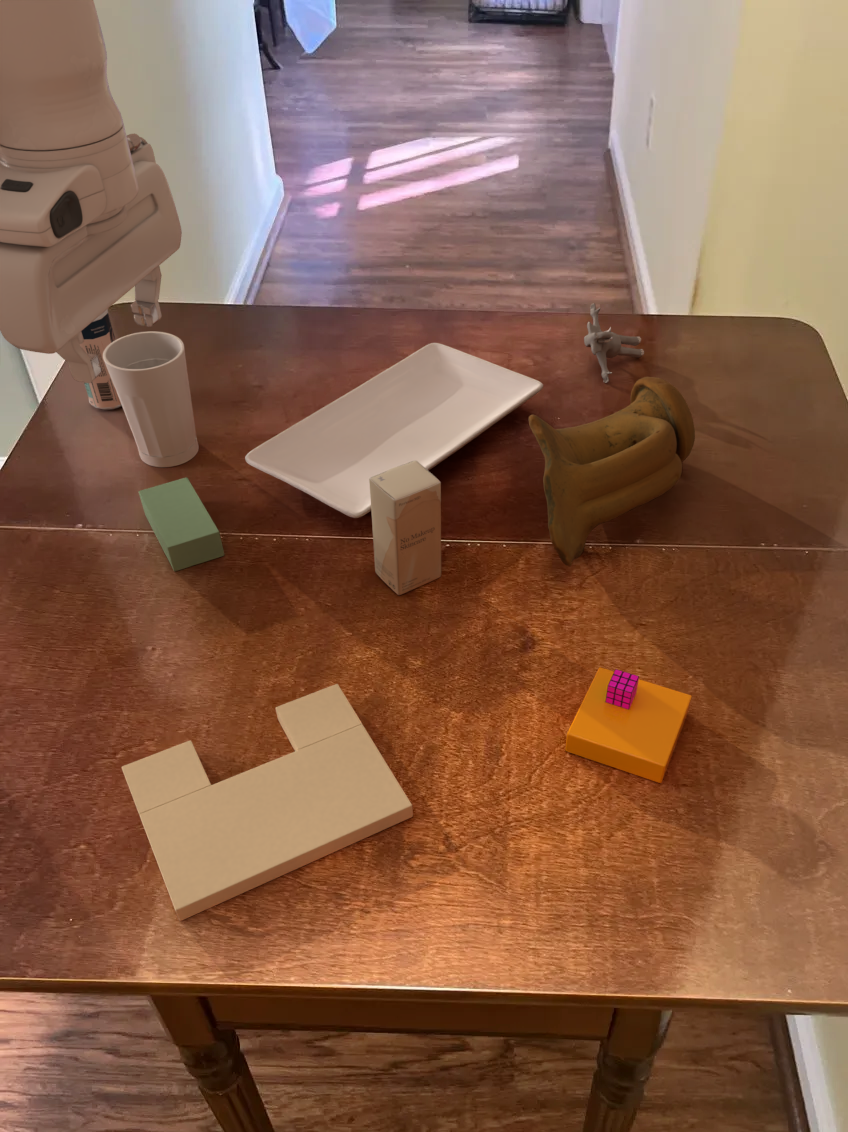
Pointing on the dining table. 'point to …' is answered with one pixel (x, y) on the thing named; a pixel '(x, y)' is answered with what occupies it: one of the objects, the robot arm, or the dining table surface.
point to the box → (406, 526)
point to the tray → (393, 425)
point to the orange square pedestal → (628, 724)
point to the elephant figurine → (608, 343)
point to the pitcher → (612, 462)
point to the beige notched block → (265, 805)
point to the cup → (154, 395)
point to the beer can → (100, 363)
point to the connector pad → (181, 524)
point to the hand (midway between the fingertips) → (120, 349)
